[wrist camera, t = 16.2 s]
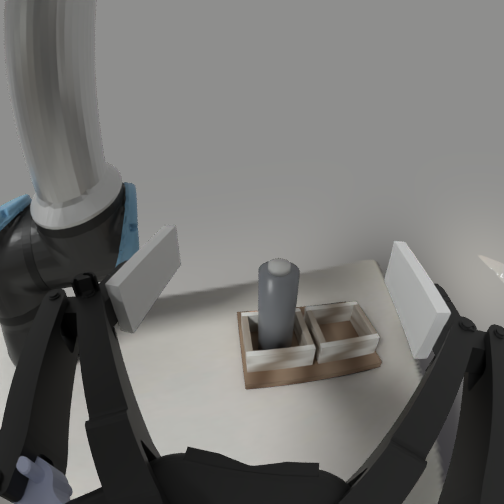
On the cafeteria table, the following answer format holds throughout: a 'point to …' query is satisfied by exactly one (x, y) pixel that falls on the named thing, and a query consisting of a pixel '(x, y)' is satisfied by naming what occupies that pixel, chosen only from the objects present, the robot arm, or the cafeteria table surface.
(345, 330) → the socket board
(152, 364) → the cafeteria table surface
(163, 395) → the cafeteria table surface
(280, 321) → the plug
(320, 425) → the cafeteria table surface
